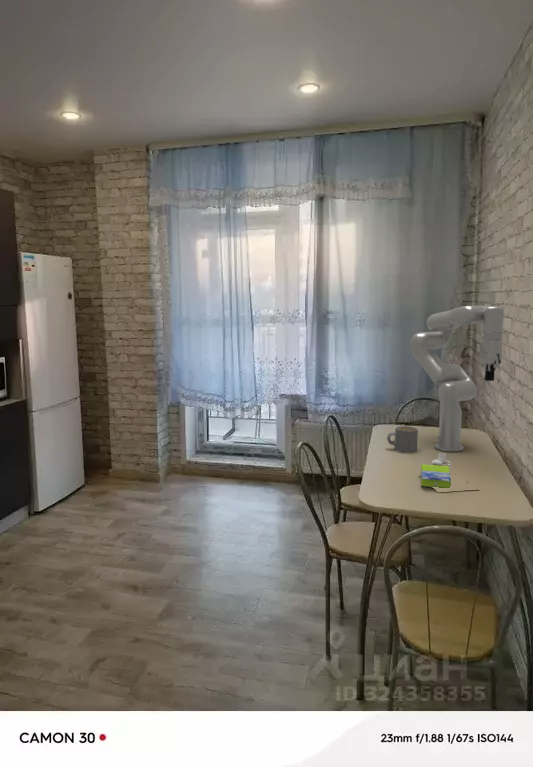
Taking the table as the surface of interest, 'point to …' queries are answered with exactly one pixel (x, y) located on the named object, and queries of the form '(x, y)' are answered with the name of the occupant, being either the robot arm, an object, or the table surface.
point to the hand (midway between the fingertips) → (489, 380)
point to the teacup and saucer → (440, 459)
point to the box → (435, 476)
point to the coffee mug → (404, 439)
